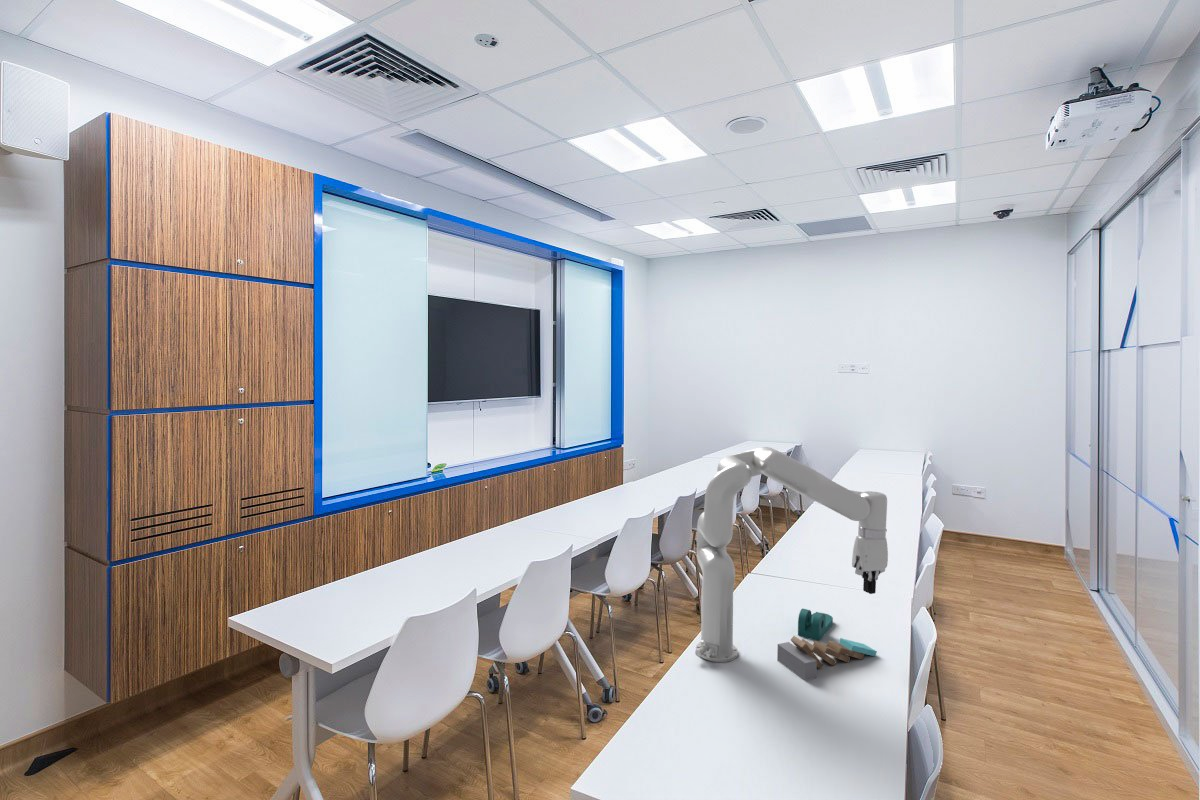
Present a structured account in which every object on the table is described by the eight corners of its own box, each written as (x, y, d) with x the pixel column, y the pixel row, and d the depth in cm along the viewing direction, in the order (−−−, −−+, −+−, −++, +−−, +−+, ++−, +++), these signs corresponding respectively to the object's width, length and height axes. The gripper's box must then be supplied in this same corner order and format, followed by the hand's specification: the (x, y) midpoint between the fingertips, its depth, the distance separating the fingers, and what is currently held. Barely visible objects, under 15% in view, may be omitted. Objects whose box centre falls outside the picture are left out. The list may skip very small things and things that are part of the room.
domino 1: (811, 657, 172) (793, 635, 169) (823, 664, 167) (805, 643, 164) (807, 661, 171) (790, 639, 169) (819, 669, 167) (801, 647, 164)
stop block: (788, 658, 173) (788, 641, 173) (816, 677, 162) (816, 660, 162) (777, 660, 172) (777, 644, 172) (804, 680, 161) (805, 663, 160)
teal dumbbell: (818, 641, 184) (819, 617, 184) (797, 635, 188) (798, 612, 188) (835, 622, 198) (835, 600, 198) (815, 617, 202) (815, 595, 202)
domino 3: (837, 650, 175) (814, 640, 172) (850, 657, 171) (826, 647, 167) (835, 655, 175) (812, 645, 172) (848, 662, 170) (824, 652, 167)
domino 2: (823, 653, 173) (802, 638, 170) (836, 661, 169) (814, 645, 166) (821, 658, 173) (800, 643, 170) (833, 666, 168) (811, 650, 165)
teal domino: (864, 644, 179) (840, 638, 175) (876, 651, 174) (853, 645, 171) (862, 649, 179) (838, 643, 175) (875, 656, 174) (851, 650, 171)
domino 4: (851, 646, 177) (827, 640, 174) (864, 654, 172) (840, 647, 169) (849, 652, 177) (826, 645, 173) (862, 659, 172) (838, 652, 169)
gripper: (880, 527, 181) (878, 585, 182) (843, 531, 176) (840, 590, 176) (900, 534, 174) (897, 593, 175) (862, 538, 169) (859, 599, 169)
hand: (869, 592), depth 176 cm, fingers closed
